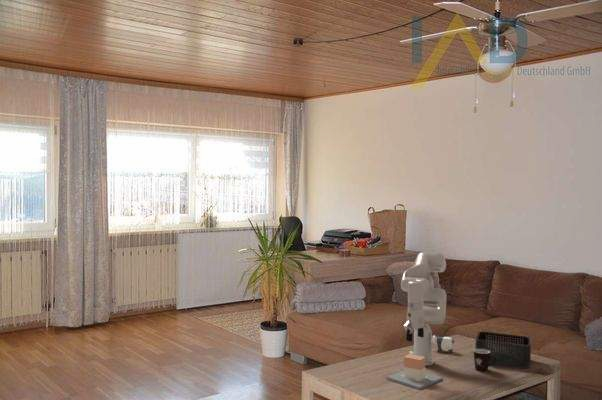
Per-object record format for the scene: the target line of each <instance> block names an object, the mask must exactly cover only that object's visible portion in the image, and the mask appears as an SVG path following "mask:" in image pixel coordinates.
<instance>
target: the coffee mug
mask: <svg viewBox="0 0 602 400" xmlns="http://www.w3.org/2000/svg"><path fill="white" fill-rule="evenodd" d="M490 357H494V356H490V351H489V350H485V349H475V348H474V349H473V359H474V369H475V371H477V372H480V373H487V372H489V367H490V366H493V364H494V363H496V357H494V358H495V362H494V363H493V364H489V359H490Z"/></svg>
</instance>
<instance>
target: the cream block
mask: <svg viewBox="0 0 602 400" xmlns="http://www.w3.org/2000/svg"><path fill="white" fill-rule="evenodd" d="M403 370H404V376H406V377H409V378H413V379H416V380H421V379H423V378H425V374H426V373H427V372H426V366H425V367H424V368H423V369H422V370H418V369H413V368H407V367H404V366H403Z"/></svg>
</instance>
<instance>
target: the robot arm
mask: <svg viewBox="0 0 602 400" xmlns="http://www.w3.org/2000/svg"><path fill="white" fill-rule="evenodd" d="M446 269H447V262H446V258H445V256H444V255H443V254H442V253H440V252H435V251H434V252H433V251H422V252H419V253H418V254H417V256H416V258H415V259H414V265H413V266H411V267H409V268H408V269H406V270H404V272H403V275H402V277H401V280H400V289H401V290H402V291H403V292H406V293H407V311H406V322H405V323H404V325H403V329H404V332H405V334H406V338H405V340H406V341H407V342H410V343H411V342H413V351H409V352H408V354H411V355H417V356H423V357H425V367H427V366H432V365H435V360H434V359H433V358H432V345H433V342H432V337H433V334H432V333H433V332H432V328H431V326H430V325H431V324H433V325H443V324H444V323H445V322H446V321H445V320H446V314H447V313H446V312H447V309H446V308H447V293H446V290H445V289H443V288H437V287H436V288H435V287H434V284H435V281H434V280H435V279H434V278H433V277H432V276H431V274H430V273H444V272H445V271H446ZM429 324H430V325H429Z"/></svg>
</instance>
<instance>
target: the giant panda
mask: <svg viewBox="0 0 602 400" xmlns="http://www.w3.org/2000/svg"><path fill="white" fill-rule="evenodd" d="M454 343H455V340H454V339H453V338H452V337H450V336H437V334H433V335H432V344H434V345H437V351H436V353H442V351H443V350H447V352H446V353H447V354H449V355H450V354H452V353H453V351H454Z"/></svg>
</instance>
